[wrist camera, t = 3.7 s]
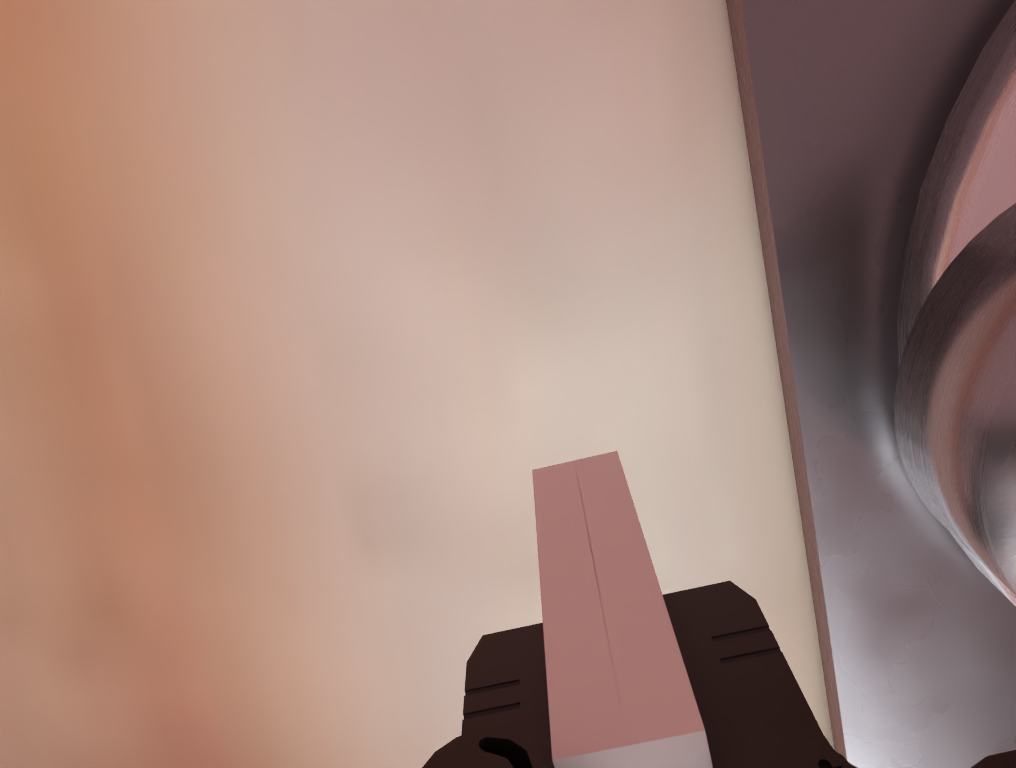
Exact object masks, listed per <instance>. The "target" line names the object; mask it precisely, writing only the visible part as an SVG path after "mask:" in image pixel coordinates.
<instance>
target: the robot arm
mask: <svg viewBox="0 0 1016 768" xmlns="http://www.w3.org/2000/svg"><path fill="white" fill-rule="evenodd" d="M532 471H533V486H534V500H535V515H536V530H537V544H538V559H539V573H540V588H541V602H542V617H543V623H539V624H535V625H530V626H525V627H520V628H516V629H511V630H506V631H501V632H497V633H492V634H487V635H483V636H482V638H481V639H480V641H479V643H478V644H477V646H476V648H475V649H474V651H473V653H472V654H471V656H470V658H469V660H468V661H467V666H466V680H465V694H466V696H464V708H463V715H464V720H463V722H462V736H459V737H456V738H455V739H453V740H452V741H451V742H449V743H448V744H446V745H445V746H443V747H442V748H440V749H439V750H437V751H436V752H435V753H434V754H433V755H432V756H431V758H430V759H429V760H428V761H427V763H426V764H425V765H424V766H423V767H422V768H857V767H856V766H854V765H852V764H851V763H849V762H848V761H847V760H846V759H845V757H844V756H843V755H841V754H840V753H838V752H836V751H835V750H834V749H833V748H832V747H831V745H830V744H829V742H828V741H827V739H826V738H825V736H824V735H823V733H822V731H821V729H820V727H819V725H818V723H817V721H816V719H815V717H814V715H813V713H812V711H811V709H810V707H809V705H808V703H807V701H806V699H805V697H804V695H803V693H802V691H801V689H800V687H799V685H798V683H797V681H796V679H795V677H794V675H793V673H792V671H791V669H790V667H789V665H788V663H787V661H786V659H785V657H784V655H783V653H782V652H781V651H780V648H779V645H778V643H777V641H776V639H775V637H774V635H773V633H772V631H771V630H770V629H769V625H768V623H767V621H766V619H765V617H764V615H763V613H762V611H761V609H760V607H759V605H758V603H757V601H756V599H754V598H753V597H752V596H750V595H749V594H747V593H746V592H745V591H743V590H742V589H741V588H739V587H738V586H736V585H735V584H734V583H732V582H731V581H726V582H722V583H717V584H712V585H707V586H703V587H698V588H693V589H688V590H684V591H679V592H674V593H669V594H665V595H662V592H661V589H660V586H659V583H658V579H657V576H656V573H655V570H654V567H653V564H652V560H651V557H650V554H649V551H648V548H647V545H646V541H645V538H644V535H643V532H642V529H641V526H640V522H639V519H638V516H637V513H636V510H635V506H634V503H633V500H632V497H631V494H630V491H629V487H628V484H627V481H626V478H625V475H624V472H623V468H622V465H621V462H620V459H619V456H618V453H617V451H615V452H610V453H606V454H602V455H597V456H593V457H588V458H584V459H579V460H575V461H571V462H566V463H562V464H557V465H553V466H548V467H544V468H540V469H535V470H532ZM971 768H1016V750H1012V751H1007V752H1003V753H998V754H994V755H989V756H986V757H985V758H983V759H982V760H981V761H979V762H978V763H976V764H975V765H974V766H972V767H971Z"/></svg>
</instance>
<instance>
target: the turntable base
mask: <svg viewBox="0 0 1016 768" xmlns="http://www.w3.org/2000/svg"><path fill="white" fill-rule="evenodd" d="M726 1H727V8H728V14H729V21H730V28H731V35H732V42H733V49H734V56H735V63H736V70H737V77H738V84H739V90H740V97H741V104H742V111H743V118H744V125H745V132H746V139H747V146H748V153H749V160H750V166H751V173H752V180H753V187H754V194H755V201H756V208H757V215H758V222H759V229H760V236H761V242H762V249H763V256H764V263H765V270H766V277H767V284H768V291H769V298H770V305H771V312H772V318H773V325H774V332H775V339H776V346H777V353H778V360H779V367H780V374H781V381H782V388H783V394H784V401H785V408H786V415H787V422H788V429H789V436H790V443H791V450H792V457H793V464H794V470H795V477H796V484H797V491H798V498H799V505H800V512H801V519H802V526H803V533H804V539H805V546H806V553H807V560H808V567H809V574H810V581H811V588H812V595H813V602H814V609H815V615H816V622H817V629H818V636H819V643H820V650H821V657H822V664H823V671H824V678H825V685H826V691H827V698H828V705H829V712H830V719H831V726H832V733H833V740H834V747H835V751H836V752H838V753H840V754H841V755H843V756H844V757H845V759H846V760H847V761H848V762H849V763H851V764H852V765H854V766H856V767H857V768H971V767H972V766H974V765H975V764H976V763H978V762H979V761H981V760H982V759H983V758H985V757H986V756H989V755H994V754H998V753H1003V752H1007V751H1012V750H1016V606H1015V605H1014V604H1013V603H1012V602H1011V601H1010V600H1009V599H1008V598H1007V597H1006V596H1005V595H1004V594H1003V593H1002V592H1001V591H1000V590H999V589H998V588H997V587H996V586H995V585H994V584H993V583H992V582H990V581H989V580H988V579H987V578H986V577H985V576H984V575H983V574H982V573H981V572H980V571H979V570H978V569H977V568H976V566H975V565H974V564H973V562H972V561H971V560H970V558H969V557H968V556H967V554H966V553H965V552H964V550H963V549H962V548H961V546H960V545H959V544H958V542H957V541H956V540H955V538H954V537H953V536H952V534H951V533H950V532H949V531H948V530H947V529H946V528H945V527H944V526H943V525H942V524H941V523H940V522H939V521H938V520H937V519H936V518H935V517H934V516H933V515H932V514H931V513H930V511H929V510H928V509H927V507H926V506H925V505H924V503H923V502H922V501H921V499H920V498H919V497H918V495H917V493H916V491H915V490H914V488H913V486H912V484H911V482H910V480H909V478H908V476H907V474H906V471H905V468H904V465H903V462H902V459H901V456H900V453H899V449H898V443H897V438H896V432H895V418H894V398H895V389H896V381H897V373H898V342H897V315H898V306H899V298H900V289H901V280H902V271H903V263H904V255H905V251H906V247H907V243H908V238H909V234H910V230H911V226H912V222H913V218H914V214H915V210H916V206H917V202H918V198H919V194H920V190H921V186H922V184H923V181H924V178H925V176H926V173H927V171H928V168H929V165H930V163H931V160H932V157H933V155H934V152H935V149H936V147H937V144H938V141H939V139H940V136H941V133H942V131H943V128H944V125H945V123H946V120H947V118H948V116H949V114H950V112H951V110H952V108H953V106H954V104H955V102H956V100H957V98H958V96H959V94H960V92H961V90H962V88H963V86H964V84H965V82H966V81H967V79H968V77H969V75H970V73H971V71H972V69H973V67H974V65H975V63H976V61H977V59H978V57H979V55H980V53H981V51H982V49H983V47H984V46H985V44H986V43H987V41H988V40H989V38H990V37H991V35H992V34H993V32H994V31H995V29H996V28H997V26H998V25H999V23H1000V21H1001V20H1002V18H1003V17H1004V15H1005V14H1006V12H1007V11H1008V9H1009V8H1010V6H1011V5H1012V3H1013V2H1014V0H726Z"/></svg>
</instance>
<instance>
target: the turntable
mask: <svg viewBox="0 0 1016 768" xmlns="http://www.w3.org/2000/svg"><path fill="white" fill-rule="evenodd" d="M1015 203H1016V0H1014V2H1013V3H1012V5H1011V6H1010V8H1009V9H1008V11H1007V12H1006V14H1005V15H1004V17H1003V18H1002V20H1001V21H1000V23H999V25H998V26H997V28H996V29H995V31H994V32H993V34H992V35H991V37H990V38H989V40H988V41H987V43H986V44H985V46H984V47H983V49H982V51H981V53H980V55H979V57H978V59H977V61H976V63H975V65H974V67H973V69H972V71H971V73H970V75H969V77H968V79H967V81H966V82H965V84H964V86H963V88H962V90H961V92H960V94H959V96H958V98H957V100H956V102H955V104H954V106H953V108H952V110H951V112H950V114H949V116H948V118H947V120H946V123H945V125H944V128H943V131H942V133H941V136H940V139H939V141H938V144H937V147H936V149H935V152H934V155H933V157H932V160H931V163H930V165H929V168H928V171H927V173H926V176H925V178H924V181H923V184H922V186H921V190H920V194H919V198H918V202H917V206H916V210H915V214H914V218H913V222H912V226H911V230H910V234H909V238H908V243H907V247H906V251H905V255H904V263H903V271H902V280H901V289H900V298H899V306H898V315H897V342H898V370H899V366H900V362H901V358H902V354H903V350H904V346H905V344H906V341H907V339H908V336H909V334H910V331H911V329H912V326H913V324H914V321H915V319H916V317H917V315H918V313H919V311H920V309H921V308H922V306H923V304H924V302H925V300H926V298H927V296H928V295H929V293H930V291H931V290H932V288H933V287H934V285H935V284H936V283H937V281H938V280H939V278H940V277H941V275H942V274H943V273H944V271H945V270H946V268H947V267H948V265H949V264H950V263H951V262H952V261H953V260H954V259H955V258H956V256H957V255H958V254H959V253H960V252H961V251H962V250H963V248H964V247H965V246H966V245H967V244H968V243H969V242H970V241H971V240H972V239H973V238H974V237H975V236H976V235H977V234H978V233H979V232H980V231H981V230H983V229H984V228H985V227H986V226H987V225H988V224H989V223H990V222H991V221H992V220H994V219H995V218H996V217H997V216H999V215H1000V214H1001V213H1003V212H1004V211H1005V210H1007V209H1008V208H1009V207H1011V206H1012V205H1014V204H1015ZM949 532H950V531H949ZM950 533H951V532H950ZM951 534H952V533H951ZM952 536H953V537H954V538H955V540H956V541H957V542H958V544H959V545H960V546H961V548H962V549H963V550H964V552H965V553H966V554H967V556H968V557H969V558H970V560H971V561H972V562H973V564H974V565H975V566H976V568H977V569H978V570H979V571H980V572H981V573H982V574H983V575H984V576H985V577H986V578H987V579H988V580H989V581H990V582H992V583H993V584H994V585H995V586H996V587H997V588H998V589H999V590H1000V591H1001V592H1002V593H1003V594H1004V595H1005V596H1006V597H1007V598H1008V599H1009V600H1010V601H1011V602H1012V603H1013V604H1014V605H1015V606H1016V595H1015V594H1014V593H1012V592H1011V591H1010V590H1009V589H1008V588H1007V587H1006V586H1005V585H1004V584H1003V583H1002V582H1001V581H1000V580H999V579H998V578H997V577H996V576H995V575H994V574H993V573H992V572H991V571H990V570H989V569H988V568H987V567H986V566H985V565H984V564H983V563H982V562H980V561H979V560H978V559H977V558H976V557H975V556H974V555H973V554H972V553H971V552H970V551H969V550H968V549H967V548H966V547H965V546H964V545H963V544H962V543H961V542H960V541H959V540H958V539H957V538H956V537H955V536H954V535H953V534H952Z"/></svg>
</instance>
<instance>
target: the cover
mask: <svg viewBox="0 0 1016 768" xmlns="http://www.w3.org/2000/svg"><path fill="white" fill-rule="evenodd" d="M894 418H895V432H896V438H897V443H898V449H899V453H900V456H901V459H902V462H903V465H904V468H905V471H906V474H907V476H908V478H909V480H910V482H911V484H912V486H913V488H914V490H915V491H916V493H917V495H918V497H919V498H920V499H921V501H922V502H923V503H924V505H925V506H926V507H927V509H928V510H929V511H930V513H931V514H932V515H933V516H934V517H935V518H936V519H937V520H938V521H939V522H940V523H941V524H942V525H943V526H944V527H945V528H946V529H947V530H948V531H950V532H951V533H952V534H953V535H954V536H955V537H956V538H957V539H958V540H959V541H960V542H961V543H962V544H963V545H964V546H965V547H966V548H967V549H968V550H969V551H970V552H971V553H972V554H973V555H974V556H975V557H976V558H977V559H978V560H979V561H980V562H982V563H983V564H984V565H985V566H986V567H987V568H988V569H989V570H990V571H991V572H992V573H993V574H994V575H995V576H996V577H997V578H998V579H999V580H1000V581H1001V582H1002V583H1003V584H1004V585H1005V586H1006V587H1007V588H1008V589H1009V590H1010V591H1011V592H1012V593H1014V594H1015V595H1016V203H1015V204H1014V205H1012V206H1011V207H1009V208H1008V209H1007V210H1005V211H1004V212H1003V213H1001V214H1000V215H999V216H997V217H996V218H995V219H994V220H992V221H991V222H990V223H989V224H988V225H987V226H986V227H985V228H984V229H983V230H981V231H980V232H979V233H978V234H977V235H976V236H975V237H974V238H973V239H972V240H971V241H970V242H969V243H968V244H967V245H966V246H965V247H964V248H963V250H962V251H961V252H960V253H959V254H958V255H957V256H956V258H955V259H954V260H953V261H952V262H951V263H950V264H949V265H948V267H947V268H946V270H945V271H944V273H943V274H942V275H941V277H940V278H939V280H938V281H937V283H936V284H935V285H934V287H933V288H932V290H931V291H930V293H929V295H928V296H927V298H926V300H925V302H924V304H923V306H922V308H921V309H920V311H919V313H918V315H917V317H916V319H915V321H914V324H913V326H912V329H911V331H910V334H909V336H908V339H907V341H906V344H905V346H904V350H903V354H902V358H901V362H900V366H899V370H898V373H897V381H896V389H895V398H894Z"/></svg>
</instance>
